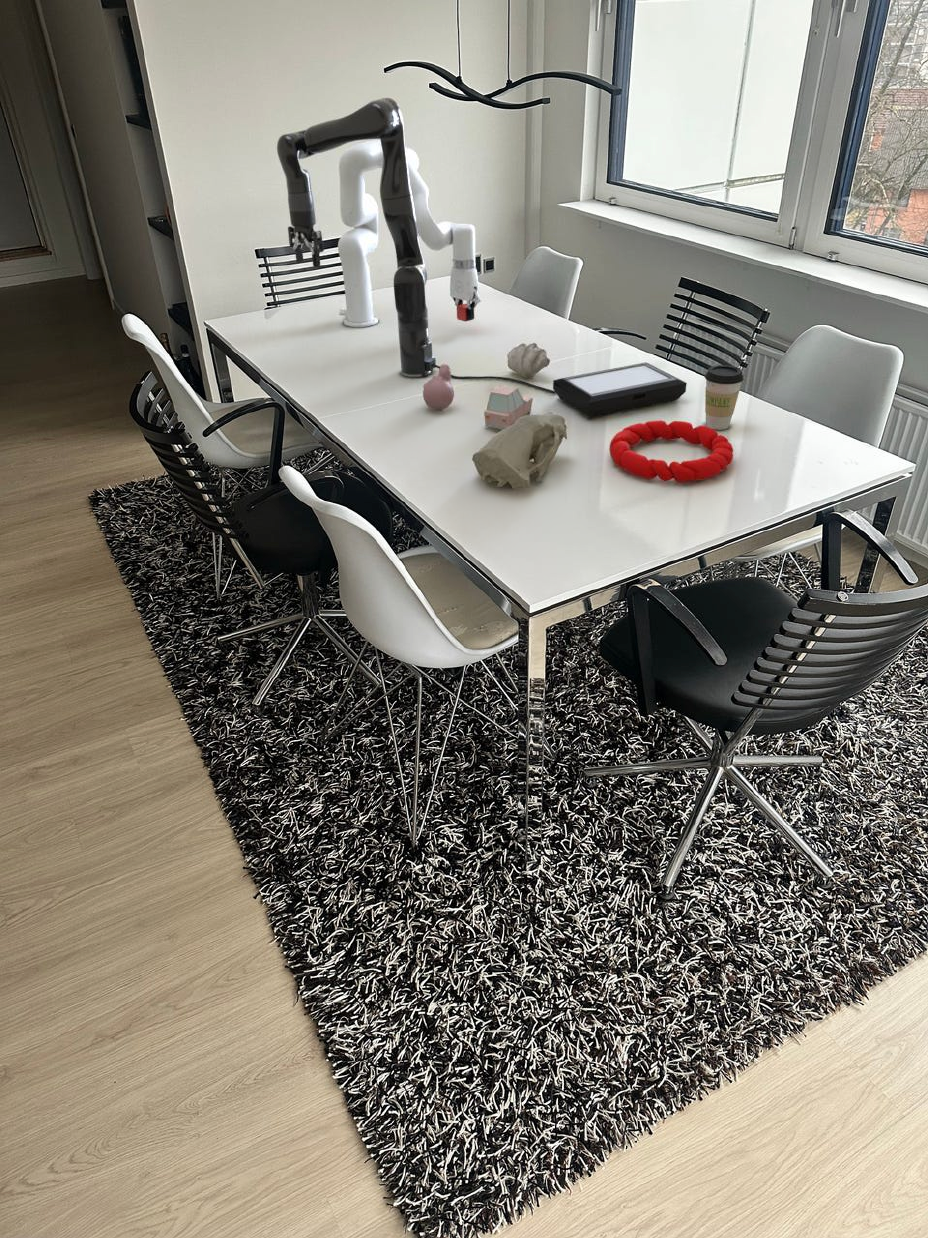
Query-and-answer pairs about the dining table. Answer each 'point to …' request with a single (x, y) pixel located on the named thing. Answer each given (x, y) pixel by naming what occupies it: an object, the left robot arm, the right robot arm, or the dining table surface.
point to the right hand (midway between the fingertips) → (308, 264)
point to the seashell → (527, 359)
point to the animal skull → (521, 450)
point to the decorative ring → (676, 471)
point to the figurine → (439, 389)
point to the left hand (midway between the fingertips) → (465, 317)
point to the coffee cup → (721, 395)
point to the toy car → (506, 407)
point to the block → (462, 312)
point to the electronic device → (619, 389)
